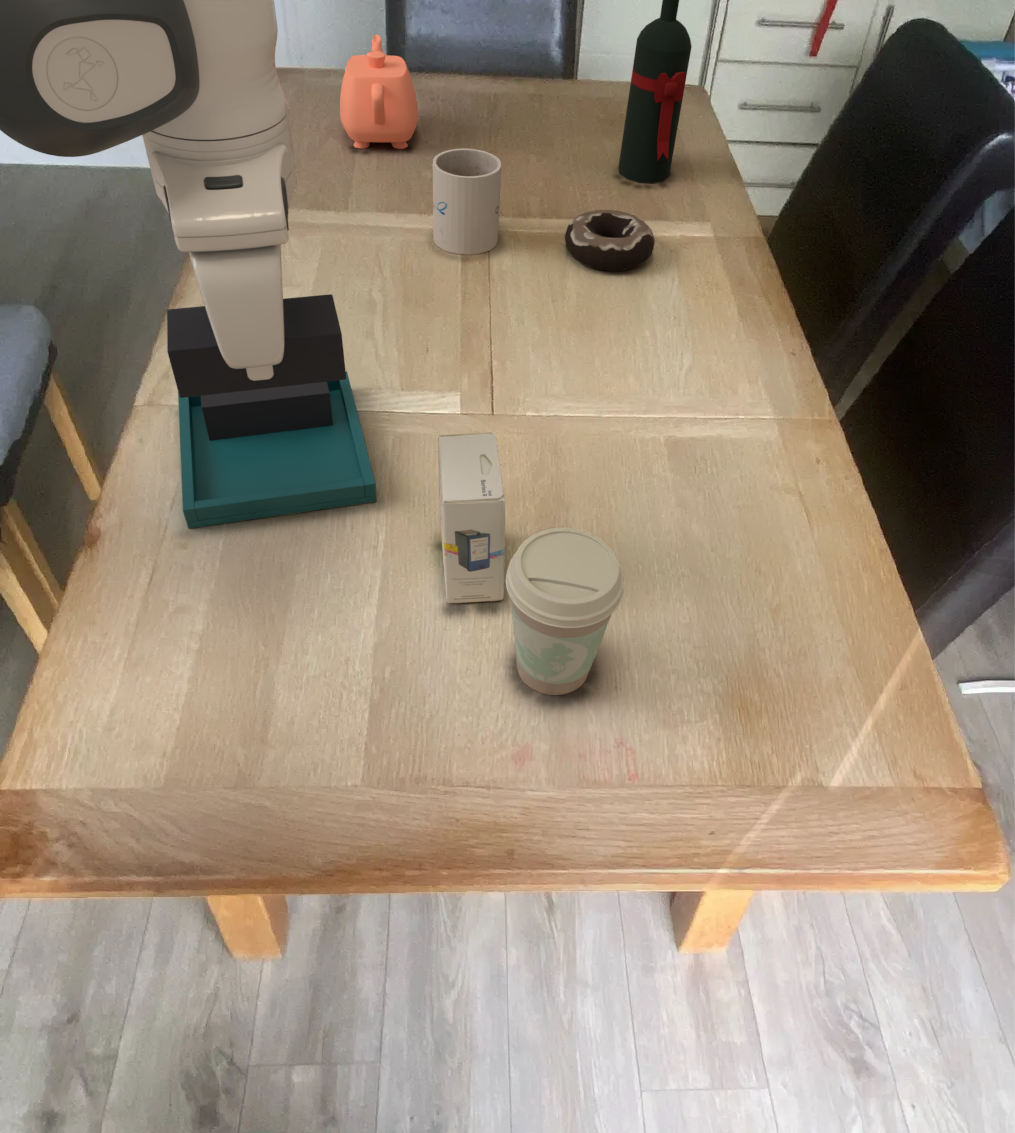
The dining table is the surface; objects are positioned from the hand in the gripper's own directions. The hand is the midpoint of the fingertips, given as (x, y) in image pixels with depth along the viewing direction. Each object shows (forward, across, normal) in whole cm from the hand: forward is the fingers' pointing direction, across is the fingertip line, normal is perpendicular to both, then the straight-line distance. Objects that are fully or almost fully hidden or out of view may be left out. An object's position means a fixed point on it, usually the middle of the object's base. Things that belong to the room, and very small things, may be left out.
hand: (257, 348), depth 67 cm
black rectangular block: (+19, -16, -1) cm, 25 cm away
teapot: (+20, -86, +22) cm, 91 cm away
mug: (+20, -53, +28) cm, 63 cm away
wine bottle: (+20, -66, +59) cm, 91 cm away
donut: (+20, -44, +45) cm, 66 cm away
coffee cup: (+20, +19, +19) cm, 33 cm away
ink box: (+20, +7, +15) cm, 26 cm away
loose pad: (+2, 0, 0) cm, 2 cm away
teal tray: (+20, -12, 0) cm, 23 cm away
